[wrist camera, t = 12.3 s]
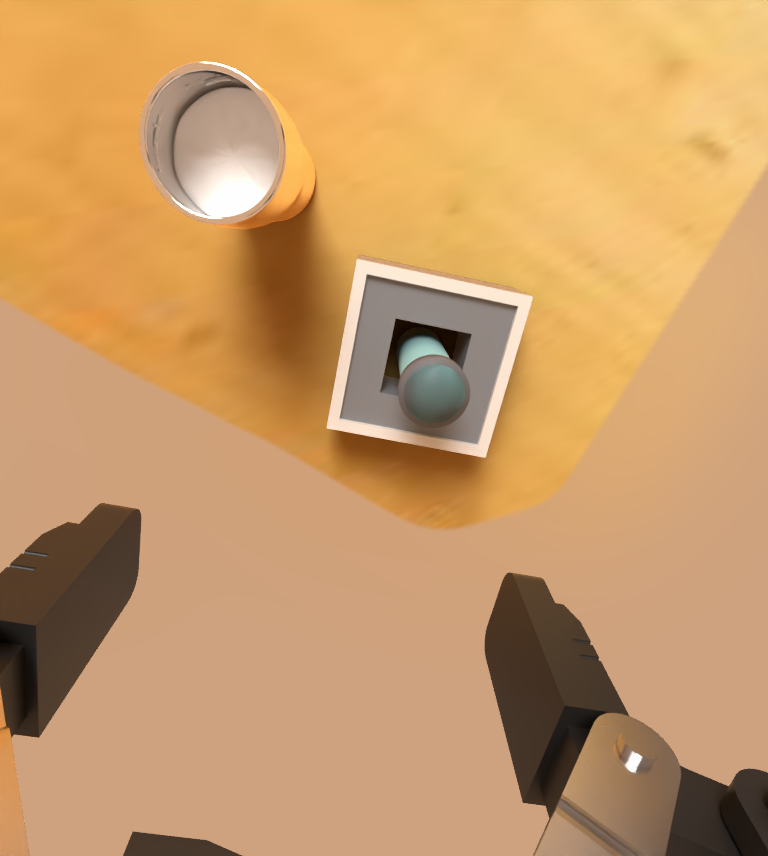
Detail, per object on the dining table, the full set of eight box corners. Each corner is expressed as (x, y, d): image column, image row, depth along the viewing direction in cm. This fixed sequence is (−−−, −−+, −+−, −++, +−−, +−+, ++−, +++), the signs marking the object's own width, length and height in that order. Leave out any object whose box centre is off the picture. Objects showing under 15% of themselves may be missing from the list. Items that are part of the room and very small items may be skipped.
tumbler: (203, 153, 37) (100, 110, 23) (288, 99, 36) (234, 19, 22) (258, 245, 40) (193, 257, 26) (340, 197, 39) (319, 181, 25)
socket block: (513, 288, 41) (533, 296, 36) (473, 431, 45) (485, 457, 40) (359, 254, 40) (357, 259, 35) (331, 404, 44) (326, 428, 39)
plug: (450, 329, 42) (478, 367, 31) (438, 379, 43) (460, 433, 32) (398, 318, 42) (407, 352, 30) (387, 369, 43) (391, 420, 32)
